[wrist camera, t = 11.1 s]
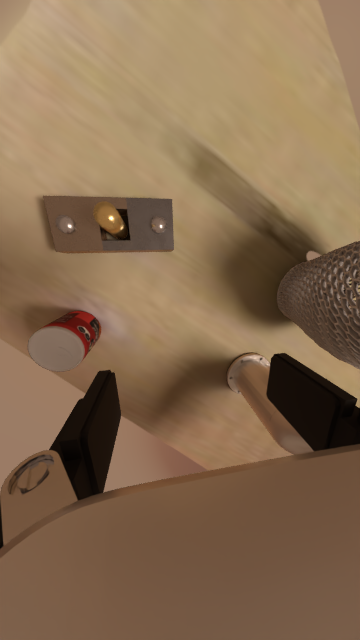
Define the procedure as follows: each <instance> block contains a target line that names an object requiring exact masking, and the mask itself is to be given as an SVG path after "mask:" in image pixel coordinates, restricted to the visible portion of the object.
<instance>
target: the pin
mask: <svg viewBox="0 0 360 640" xmlns="http://www.w3.org/2000/svg"><path fill="white" fill-rule="evenodd" d="M93 215H94V218H95V220H96V222H97V223H98V224H99V225H100V226H101V227H103V228H104V229H105V230H106V231H108V232H109V233H110V234H111V235H112V236H114V237H115V238H117V239H124V238H125V237H126V236H127V234H128V228H127V226H126V224H125V223H124V221H123V220H122V218H121V216H120V215H119V213H118V211H117V210H116V208H115V207H114V206H113V205H112V204H111V203H109V202H106V201H102V202H99V203H97V204H96V206H95V207H94V211H93Z"/></svg>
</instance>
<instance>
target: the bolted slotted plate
mask: <svg viewBox="0 0 360 640" xmlns="http://www.w3.org/2000/svg"><path fill="white" fill-rule="evenodd" d="M43 198H44V202H45V207H46V211H47V215H48V220H49V224H50V228H51V233H52V237H53V241H54V246H55V250H56V252H62V253H116V252H171V251H173V250H174V241H173V214H172V199H152V198H112V197H73V196H43ZM102 201H106V202H109V203H111V204H112V205H113V206H114V207H115V208H116V210H117V211H118V213H119V215H120V216H128V221H129V231H130V240H126V241H107V237H106V230H105V229H104V228H103V227H101V226H100V225H99V224H98V223H97V222H96V220H95V218H94V215H93V211H94V207H95V206H96V204H97V203H99V202H102Z"/></svg>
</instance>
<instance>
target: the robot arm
mask: <svg viewBox="0 0 360 640" xmlns="http://www.w3.org/2000/svg"><path fill="white" fill-rule="evenodd" d="M227 382H228V385H229V386H230V388H231V389H232V390H233V391H234V392H236V393H238V394H242V395H243V396H244V398H245V399H246V401H247V402H248V403H249V405H250V406H251V408H252V409H253V411H254V412H255V413H256V415H257V416H258V418H259V419H260V420H261V422H262V423H263V425H264V426H265V427H266V429H267V430H268V432H269V433H270V435H271V436H272V437H273V439H274V440H275V441H276V443H277V444H278V445H279V446H281V447H282V448H283V449H284V450H286V451H288V452H289V453H291V454H294V455H292V456H286V457H281V458H275V459H270V460H264V461H258V462H253V463H247V464H242V465H237V466H231V467H226V468H220V469H215V470H210V471H204V472H200V473H194V474H188V475H183V476H178V477H173V478H167V479H162V480H157V481H152V482H148V483H143V484H139V485H133V486H128V487H124V488H119V489H115V490H111V491H108V492H104V493H103V490H104V487H105V482H106V478H107V474H108V470H109V465H110V461H111V457H112V452H113V448H114V444H115V440H116V436H117V431H118V427H119V423H120V418H121V410H120V404H119V398H118V391H117V385H116V378H115V373H114V372H112V373H111V371H110V370H105V371H99V372H98V373H97V375H96V377H95V379H94V380H93V382H92V384H91V386H90V387H89V389H88V391H87V393H86V395H85V396H84V398H83V399H80V400H79V401H78V402H77V404H76V405H75V407H74V409H73V410H72V412H71V414H70V416H69V417H68V419H67V421H66V422H65V424H64V426H63V427H62V429H61V431H60V432H59V434H58V436H57V437H56V439H55V441H54V443H53V444H52V446H51V448H50V449H49V450H45V451H41V452H39V453H36V454H34V455H32V456H30V457H28V458H27V459H25V460H24V461H23V462H21V463H20V464H19V465H18V466H17V467H16V468H15V469H14V470H12V472H11V473H10V474H9V475H8V477H7V478H6V479H5V481H4V483H3V485H2V487H1V492H0V640H360V408H358V407H357V406H355V405H356V402H357V398H355V397H354V396H352V395H350V394H349V393H347V392H346V391H344V390H342V389H341V388H339V387H338V386H336V385H335V384H333V383H331V382H330V381H328V380H327V379H325V378H324V377H322V376H320V375H319V374H317V373H316V372H314V371H313V370H311V369H309V368H308V367H306V366H305V365H303V364H302V363H300V362H298V361H297V360H295V359H294V358H292V357H291V356H289V355H287V354H286V353H280V354H274V356H273V357H272V358H271V363H270V364H269V362H268V360H267V359H266V358H265V357H263V356H262V355H260V354H256V353H250V354H245V355H243V356H241V357H239V358H237V359H236V360H235V361H234V362H233V363H232V364H231V366H230V367H229V369H228V372H227Z"/></svg>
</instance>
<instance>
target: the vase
mask: <svg viewBox="0 0 360 640" xmlns="http://www.w3.org/2000/svg"><path fill="white" fill-rule="evenodd" d="M348 271H349V272H348ZM358 273H359V274H358ZM342 278H343V279H342ZM350 278H351V280H350ZM350 281H352V283H351V284H349V282H350ZM349 285H351V288H350V287H349ZM358 285H360V241H358V242H357V241H356V242H354V243H351V244H349V245H346V246H344V247H341V248H338V249H335V250H333V251H331V252H329V253H327V254H325V255H323V256H320V257H318V258H316V259H313V260H310V261H306V262H302V263H300V264H298V265H296V266H294V267H293V268H291V269H290V270H289V271H288V272H287V273H286V275H285V276H284V277H283V279H282V281H281V283H280V285H279V288H278V292H277V303H278V307H279V309H280V311H281V312H282V313H283V315H285V316H286V317H288V318H289V319H291V320H292V321H293V322H295V323H296V324H297V325H298V326H299V327H300V328H301V329H302V330H303V331H304V332H305V333H306V334H307V335H308V336H309V337H310V338H311V339H312V340H314V342H315V343H317V344H318V345H319V346H320V347H321V348H323V349H324V350H326V351H328V352H329V353H330V354H331V355H333V356H334V357H336V358H337V359H339V360H341V361H344V362H347V363H349V364H351V365H352V366H354V367H356V368H358V369H360V294H359V293H360V292H358V291H357V290H358V289H360V288H358ZM344 289H345V290H344ZM352 293H353V294H352ZM345 294H346V295H345ZM354 295H355V296H354ZM339 296H340V298H339ZM355 297H356V300H355V301H354V300H353V298H355ZM339 299H341V300H339ZM355 302H356V303H355ZM349 306H351V308H349ZM358 312H359V313H358ZM346 314H347V315H346Z"/></svg>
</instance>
